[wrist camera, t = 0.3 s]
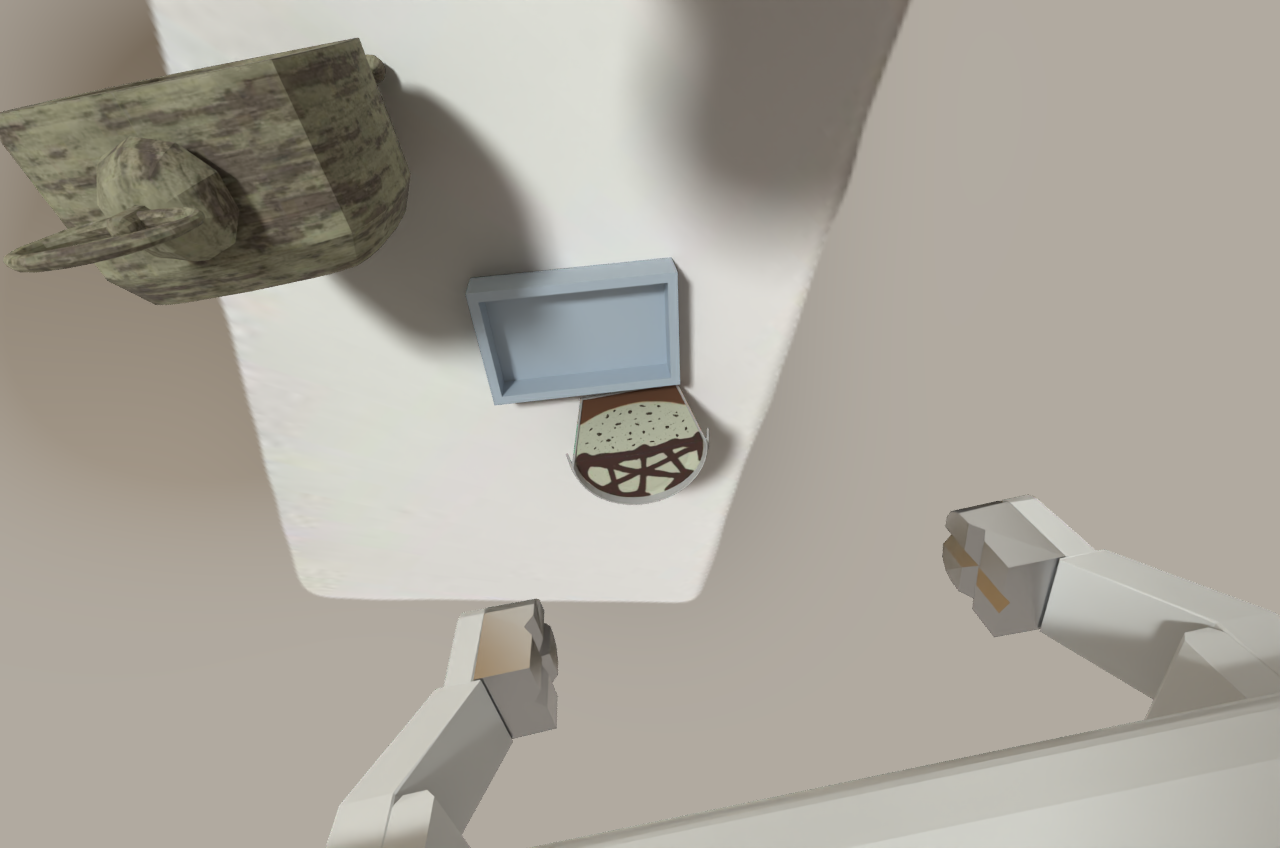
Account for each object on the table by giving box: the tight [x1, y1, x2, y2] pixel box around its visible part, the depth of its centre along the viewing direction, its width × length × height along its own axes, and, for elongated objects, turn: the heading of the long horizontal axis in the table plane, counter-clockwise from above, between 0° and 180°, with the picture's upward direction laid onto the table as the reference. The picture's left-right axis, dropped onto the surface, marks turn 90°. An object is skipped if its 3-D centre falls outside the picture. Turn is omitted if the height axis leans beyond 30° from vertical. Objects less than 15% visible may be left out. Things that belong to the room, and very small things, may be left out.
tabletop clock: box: [0, 38, 410, 305], centre depth 30 cm, size 14×9×25 cm, turn 99°
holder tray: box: [465, 258, 680, 405], centre depth 50 cm, size 11×17×3 cm, turn 93°
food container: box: [566, 385, 709, 505], centre depth 54 cm, size 12×6×10 cm, turn 98°
